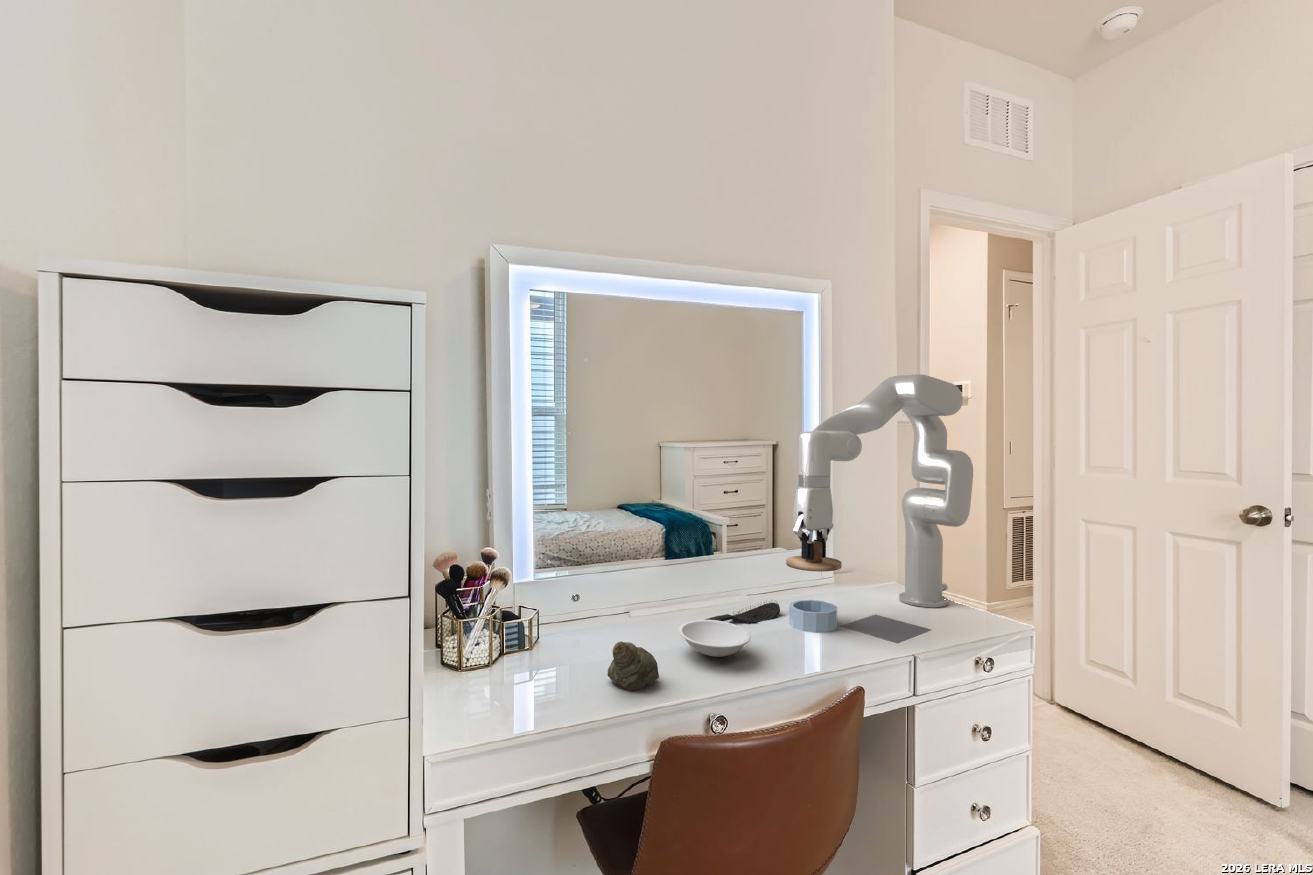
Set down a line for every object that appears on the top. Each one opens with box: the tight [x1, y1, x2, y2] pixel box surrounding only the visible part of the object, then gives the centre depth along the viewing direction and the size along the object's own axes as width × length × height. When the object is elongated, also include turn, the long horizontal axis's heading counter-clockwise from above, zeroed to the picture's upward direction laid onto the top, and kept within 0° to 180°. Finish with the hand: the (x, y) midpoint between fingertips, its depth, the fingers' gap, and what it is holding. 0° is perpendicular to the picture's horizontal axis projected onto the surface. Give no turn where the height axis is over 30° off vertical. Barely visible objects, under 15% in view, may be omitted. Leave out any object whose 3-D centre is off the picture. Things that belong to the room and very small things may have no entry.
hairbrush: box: [704, 599, 781, 625], centre depth 155 cm, size 8×4×25 cm
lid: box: [785, 540, 843, 573], centre depth 151 cm, size 13×13×6 cm
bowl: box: [788, 599, 838, 634], centre depth 151 cm, size 11×11×5 cm
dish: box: [678, 619, 752, 658], centre depth 132 cm, size 18×14×5 cm
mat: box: [840, 614, 932, 644], centre depth 149 cm, size 15×15×1 cm
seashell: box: [606, 640, 660, 691], centre depth 119 cm, size 11×12×10 cm
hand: (813, 557), depth 151 cm, fingers closed on lid, 4 cm apart
